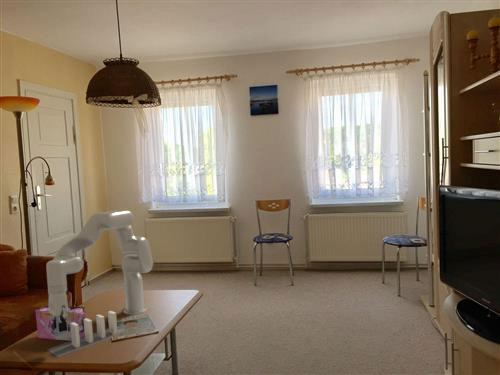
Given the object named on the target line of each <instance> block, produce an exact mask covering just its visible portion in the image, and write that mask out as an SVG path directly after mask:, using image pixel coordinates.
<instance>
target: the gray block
mask: <svg viewBox="0 0 500 375" xmlns="http://www.w3.org/2000/svg"><path fill="white" fill-rule="evenodd" d="M60 315H63V314H60ZM62 317H63V316H61V318H62ZM58 323H59V318H58V317H56V330H57V333H59V334H60V335H63V334H65V331H62V332H59V324H58Z"/></svg>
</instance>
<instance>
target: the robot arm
mask: <svg viewBox="0 0 500 375" xmlns="http://www.w3.org/2000/svg"><path fill="white" fill-rule="evenodd" d="M134 221H135V218H134V214H133V212H131V211H129V210H107V211H105V212H95V213H93V214H91V216H90V217H89V219H88V220H87V221H86V223H85V224H84V226H83V227H82V229H81V230H80V232H79V233H78V234H77V235H76V236H74V237H73V238H71V239H70V240H69V241H67V242H66V243H64V244H63V245H61V247H60V248H59V249H58V251H57V252H56V254H55V255H54V257H53V259H52V260H49V261H48V262H46V280H47V293H48V305H49V313H50V314H52V315H53V319H55V320H53V322H54V329H56V317H58V318H59V323H58V324H59V332H62V331H65V330H67V322H66V321H67V313H68V306H69V303H68V296H67V291H68V282H67V275H72V274H76V273H79V272H81V270H83V268H84V264H85V262H84V260H83V258H81V257H80V256H76V255H75V254H76V253H78V252H80V251H81V250H85V249H87V248H89V247H92V246H94V245H95V244H96V242H97V240H98V239H99V237H100V235H101V234H102V233H103V231H104V230H108V231H109V230H111V231H113V230H114V231H115V234H116V237H117V241H118V244H119V249H120V251H121V253H122V254H125V255H124V257H122V259H121V264H120V265H121V270H122V272H123V278H124V280H123V281H124V294H125V302H124V305H125V308H124V309H123V314H125V315H128V316H129V315H131V316H132V315H139V314H142V313H144V312H146V311H147V310H148V307H147V306H146V305H145V303H144V302H145V300H144V299H145V298H144V288H143V287H144V286H143V284H144V283H143V276H142V274H141V273H143V274H145V273H149V272H151V271H152V270H153V267H154V261H153V260H154V259H153V255H152V250H151V247H150V243H149V241H148V239H146V237H143V236H137V235H136V236H135V234H134V230H133V227H132V225H133V223H134ZM60 314H63V315H60ZM61 316H63V317H62V318H61Z"/></svg>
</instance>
